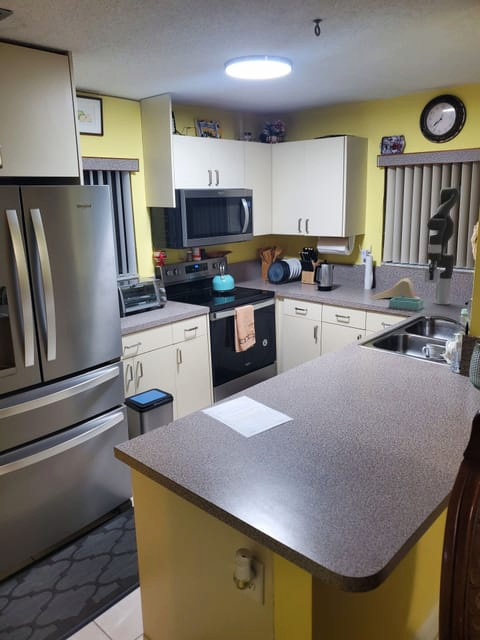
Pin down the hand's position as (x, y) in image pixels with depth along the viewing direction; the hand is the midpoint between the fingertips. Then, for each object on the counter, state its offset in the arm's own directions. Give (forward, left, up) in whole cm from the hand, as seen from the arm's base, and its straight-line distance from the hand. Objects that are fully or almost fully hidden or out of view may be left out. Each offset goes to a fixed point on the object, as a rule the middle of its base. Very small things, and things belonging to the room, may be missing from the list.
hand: (431, 279), depth 303 cm
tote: (0, -14, -19) cm, 24 cm away
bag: (-31, -30, -20) cm, 47 cm away
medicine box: (0, 0, -2) cm, 2 cm away
